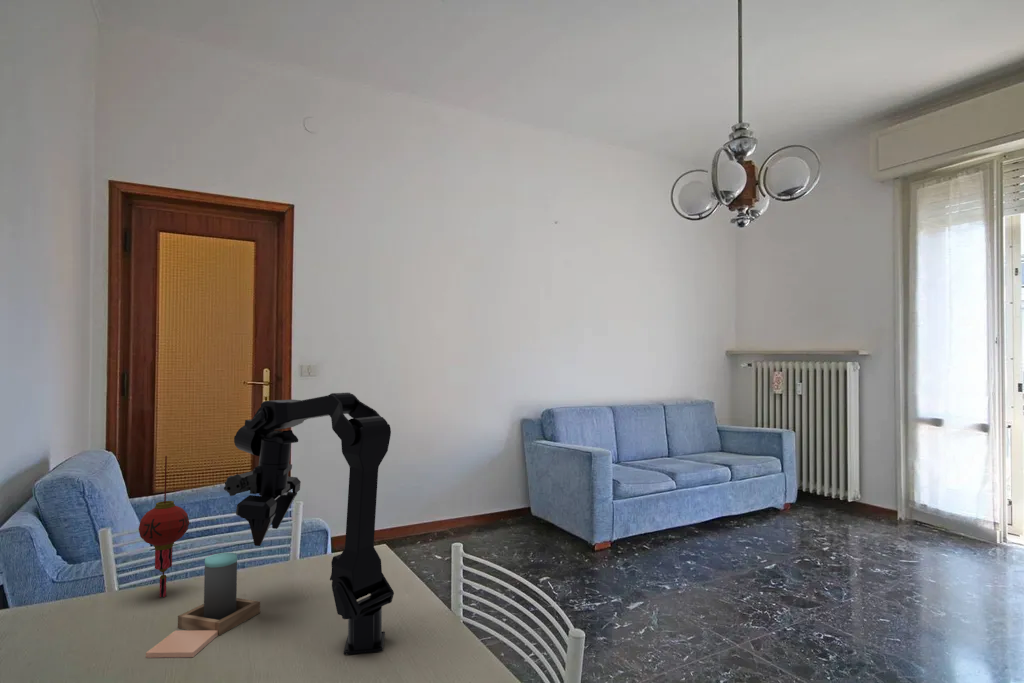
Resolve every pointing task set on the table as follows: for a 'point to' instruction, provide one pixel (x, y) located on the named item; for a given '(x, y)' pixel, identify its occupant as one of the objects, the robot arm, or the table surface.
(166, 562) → the lantern
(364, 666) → the table surface
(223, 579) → the teal-capped grey cylinder
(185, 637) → the coaster
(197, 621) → the open square brown frame
